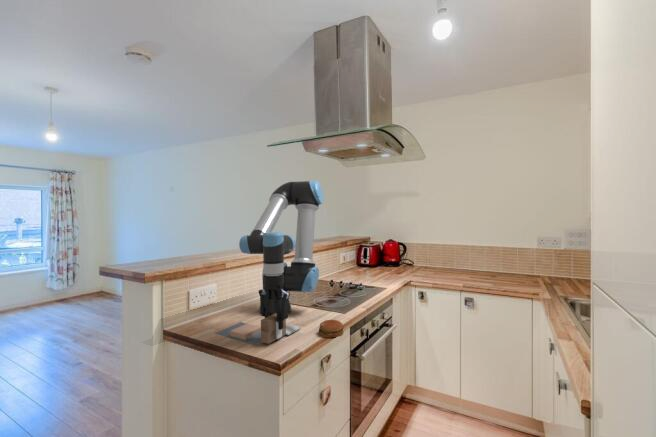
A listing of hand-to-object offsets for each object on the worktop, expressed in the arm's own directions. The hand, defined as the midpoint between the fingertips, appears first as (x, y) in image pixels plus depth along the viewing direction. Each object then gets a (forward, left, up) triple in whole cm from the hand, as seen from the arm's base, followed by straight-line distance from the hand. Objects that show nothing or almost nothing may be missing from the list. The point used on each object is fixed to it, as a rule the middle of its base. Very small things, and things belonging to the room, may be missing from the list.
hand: (274, 336), depth 115 cm
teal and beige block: (+6, -12, 0) cm, 13 cm away
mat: (+8, -11, -2) cm, 14 cm away
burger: (-22, +2, -2) cm, 22 cm away
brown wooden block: (-3, -2, -1) cm, 4 cm away
